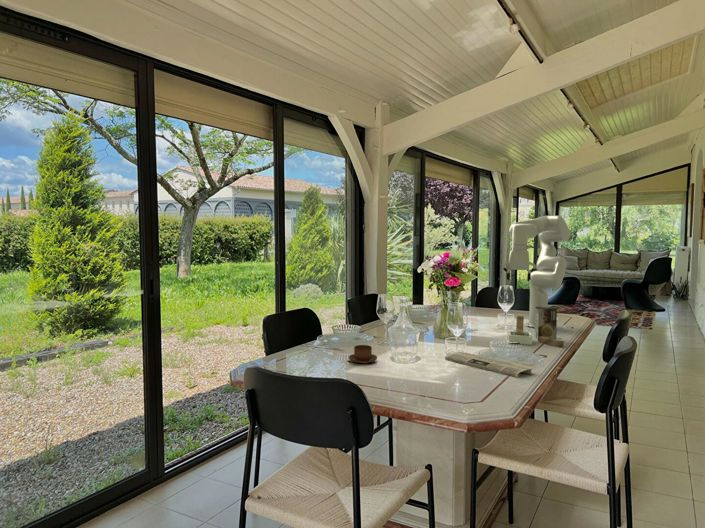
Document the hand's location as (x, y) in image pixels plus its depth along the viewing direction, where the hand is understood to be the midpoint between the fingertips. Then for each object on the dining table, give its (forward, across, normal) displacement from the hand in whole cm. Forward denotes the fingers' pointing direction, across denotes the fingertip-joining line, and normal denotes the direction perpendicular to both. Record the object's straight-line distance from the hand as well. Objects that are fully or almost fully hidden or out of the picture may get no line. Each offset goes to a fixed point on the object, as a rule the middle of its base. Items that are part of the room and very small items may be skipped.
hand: (518, 280), depth 261 cm
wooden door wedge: (+29, -14, +19) cm, 37 cm away
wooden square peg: (+28, 0, +17) cm, 32 cm away
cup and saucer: (+29, +66, +71) cm, 101 cm away
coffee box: (+28, -13, +8) cm, 32 cm away
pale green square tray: (+28, 0, +17) cm, 33 cm away
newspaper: (+29, +15, +64) cm, 72 cm away
